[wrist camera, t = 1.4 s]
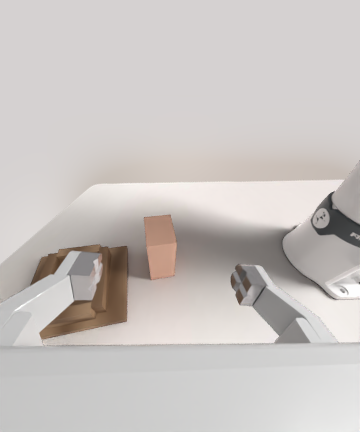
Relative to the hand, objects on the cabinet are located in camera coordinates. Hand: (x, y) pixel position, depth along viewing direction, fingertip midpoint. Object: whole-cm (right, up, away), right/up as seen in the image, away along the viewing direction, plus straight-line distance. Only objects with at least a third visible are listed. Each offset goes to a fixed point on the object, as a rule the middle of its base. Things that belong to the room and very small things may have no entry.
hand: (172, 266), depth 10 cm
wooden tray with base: (-17, -10, +20) cm, 28 cm away
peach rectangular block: (-4, -7, +24) cm, 26 cm away
